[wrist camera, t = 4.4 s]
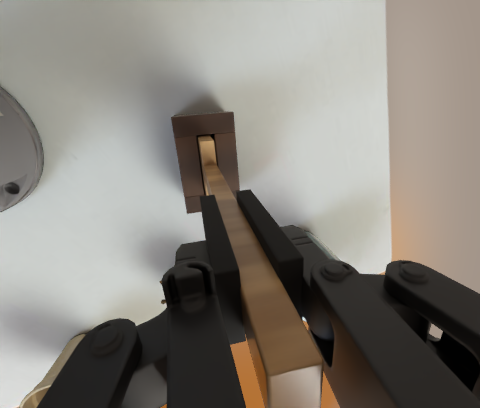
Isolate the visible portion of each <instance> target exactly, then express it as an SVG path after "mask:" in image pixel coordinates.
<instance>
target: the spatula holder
mask: <svg viewBox="0 0 480 408" xmlns="http://www.w3.org/2000/svg"><path fill="white" fill-rule="evenodd" d="M171 120H172V126H173V132H174V137H175V144H176V150H177V156H178V162H179V168H180V174H181V180H182V186H183V192H184V197H185V204H186V209H187V214H189V213H195V212H202V210H201V203H200V196H206V192H205V188H204V184H203V178H202V170H201V163H200V156H199V148H198V141H197V135H207V134H209V136H210V137H211V138H212V139H213V140H214V147H215V156H216V164H217V166H218V168H219V170H220V172H221V173H222V175H223V177H224V179H225V181H226V183H227V184H228V186H229V188H230V190H231V192H232V193H233V195H234V197H235V199H236V201H237V196H236V191H240V190H239V189H240V188H239V176H238V163H237V151H236V138H235V126H234V113H233V112H228V111H221V112H210V113H198V114H186V115H175V116H173V117H171Z"/></svg>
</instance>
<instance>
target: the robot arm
mask: <svg viewBox="0 0 480 408" xmlns="http://www.w3.org/2000/svg"><path fill="white" fill-rule="evenodd" d="M43 163H44V156H43V148H42V143H41V140H40V137H39V134H38V132H37V130H36V128H35V126H34V124H33V122H32V121H31V119H30V118H29V116H28V115H27V113H26V112H25V111H24V109H23V108H22V107H21V106H20V105H19V104H18V103H17V101H16V100H14V99H13V98H12V97H11V96H10V95H9V94H8V93H7V92H6V91H4V90H3V89H2V88H0V212H2V211H4V210H6V209H8V208H10V207H12V206H14V205H16V204H17V203H19V202H21V201H22V200H24V199H25V198H26V197H27V196H28V195H29V194H30V193H31V192H32V191H33V190H34V188H35V187H36V185H37V184H38V182H39V180H40V177H41V174H42V171H43ZM236 196H237V203H238V205H239V206H240V208H241V210H242V212H243V214H244V216H245V217H246V219H247V221H248V223H249V225H250V227H251V228H252V230H253V232H254V234H255V236H256V238H257V239H258V241H259V243H260V245H261V247H262V249H263V250H264V252H265V254H266V256H267V258H268V260H269V261H270V263H271V265H272V267H273V269H274V271H275V272H276V274H277V276H278V278H279V279H280V281H281V283H282V285H283V287H284V288H285V290H286V292H287V294H288V296H289V298H290V299H291V301H292V303H293V305H294V307H295V308H296V310H297V312H298V314H299V316H300V318H301V319H302V315H303V316H304V318H305V320H306V322H307V323H308V325H309V330H308V332H309V334H310V336H311V338H312V339H313V341H314V343H315V345H316V347H317V349H318V350H319V352H320V354H321V356H322V358H323V361H324V366H323V371H324V373H325V375H326V378H327V380H328V382H329V384H330V386H331V388H332V391H333V393H334V395H335V397H336V399H337V402H338V404H339V406H340V408H480V294H478V293H477V292H475V291H473V290H471V289H469V288H467V287H466V286H464V285H462V284H460V283H458V282H456V281H454V280H452V279H450V278H448V277H447V276H445V275H443V274H441V273H439V272H437V271H435V270H433V269H431V268H429V267H427V266H424V265H422V264H420V263H415V262H412V261H402V260H399V261H393V262H391V263H389V264H388V265H387V267H386V272H385V275H377V274H359V272H358V271H357V270H356V269H355V268H353V267H352V266H351V265H349V264H347V263H345V262H342V261H339V260H333V259H330V258H329V257H328V256H327V255H326V254H325V253H324V252H323V251H322V250H321V249H320V248H319V247H318V246H317V245H316V244H315V243H314V242H313V240H312V239H311V238H310V237H308V235H307V234H306V233H305V232H304V231H303V230H302V229H300V228H298V227H295V226H293V225H290V226H284V227H279V225H278V224H277V223H276V222H275V220H274V219H273V218H272V217H271V215H270V214H269V213H268V212H267V210H266V209H265V208H264V206H263V205H262V204H261V203H260V201H259V200H258V199H257V198H256V196H255V195H254V194H253V193H252V191H251V190H243V191H236ZM200 203H201V210H202V217H203V224H204V231H205V238H206V240H205V241H199V242H193V243H187V244H182V245H181V246H180V247H179V249H178V250H177V251H176V258H175V261H176V262H175V266H174V267H172V268H171V269H169V270H168V271H167V272H166V273H165V274H164V275H163V278H162V281H161V282H162V287H163V291H164V295H165V299H166V304H167V308H166V309H165V310H164V311H163V312H162V313H161V314H159V315H158V316H156V317H155V318H153V319H151V320H149V321H147V322H145V323H142V324H140V325H138V326H136V325H135V323H134V322H132V321H130V320H129V319H121V318H119V319H114V320H109V321H107V322H105V323H102V324H100V325H98V326H96V327H95V328H94V329H92V330H91V331H90V332H88V333H87V334H86V335H85V336H84V337H83V339H82V340H81V341H80V342H79V343H78V345H77V346H76V348H75V349H74V351H73V352H72V354H71V355H70V357H69V358H68V360H67V362H66V363H65V365H64V366H63V368H62V369H61V371H60V372H59V374H58V375H57V377H56V378H55V380H54V381H53V383H52V385H51V386H50V388H49V389H48V391H47V392H46V394H45V395H44V397H43V398H42V400H41V401H40V403H39V404H38V406H37V408H160V407H162V406H164V405H165V404H167V408H246V405H245V401H244V398H243V394H242V390H241V386H240V382H239V378H238V374H237V371H236V367H235V363H234V359H233V355H232V351H231V347H230V344H235V343H239V342H243V341H246V337H245V330H244V326H243V317H242V306H241V296H240V287H241V282H240V271H239V267H238V264H237V261H236V258H235V255H234V252H233V249H232V246H231V243H230V240H229V237H228V234H227V231H226V228H225V225H224V222H223V219H222V216H221V213H220V210H219V207H218V204H217V201H216V198H215V195H207V196H200ZM431 324H434V325H435V326H437V327H438V328H439V329H441V330H442V331H443V333H442V336H441V339H439V338H435V337H434V336H432V335H430V334H429V331H430V327H431Z"/></svg>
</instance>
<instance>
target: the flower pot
mask: <svg viewBox="0 0 480 408" xmlns="http://www.w3.org/2000/svg"><path fill="white" fill-rule="evenodd" d="M84 336H85V334H81V335H78V336H76V337H74V338H73V339H71V340H70V341H69V342H68V344H67V345H66V347H65V348H64V350H63V351H62V353H61V354H60V356H59V357H58V358H57V360H56V361H55V363H54V364H53V366H52V367H51V369H50V370H49V371H48V373H47V374H46V376H45V377H44V379H43V380H42V381H41V382H40V383H39V384H38V385H37V386H36V387H35V388H34V389H33V391H31V392H30V393H29V394H28V395H26V397H25V398H24V399H23V400H22V402H21V404H20V406H19V408H37V406H38V404H39V403H40V401H41V400H42V398H43V397H44V395H45V394H46V392H47V391H48V389H49V388H50V386H51V385H52V383H53V381H54V380H55V378H56V377H57V375H58V374H59V372H60V371H61V369H62V368H63V366H64V365H65V363H66V362H67V360H68V358H69V357H70V355H71V354H72V352H73V351H74V349H75V348H76V346H77V345H78V343H79V342H80V341H81V340H82V339H83V337H84Z"/></svg>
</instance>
